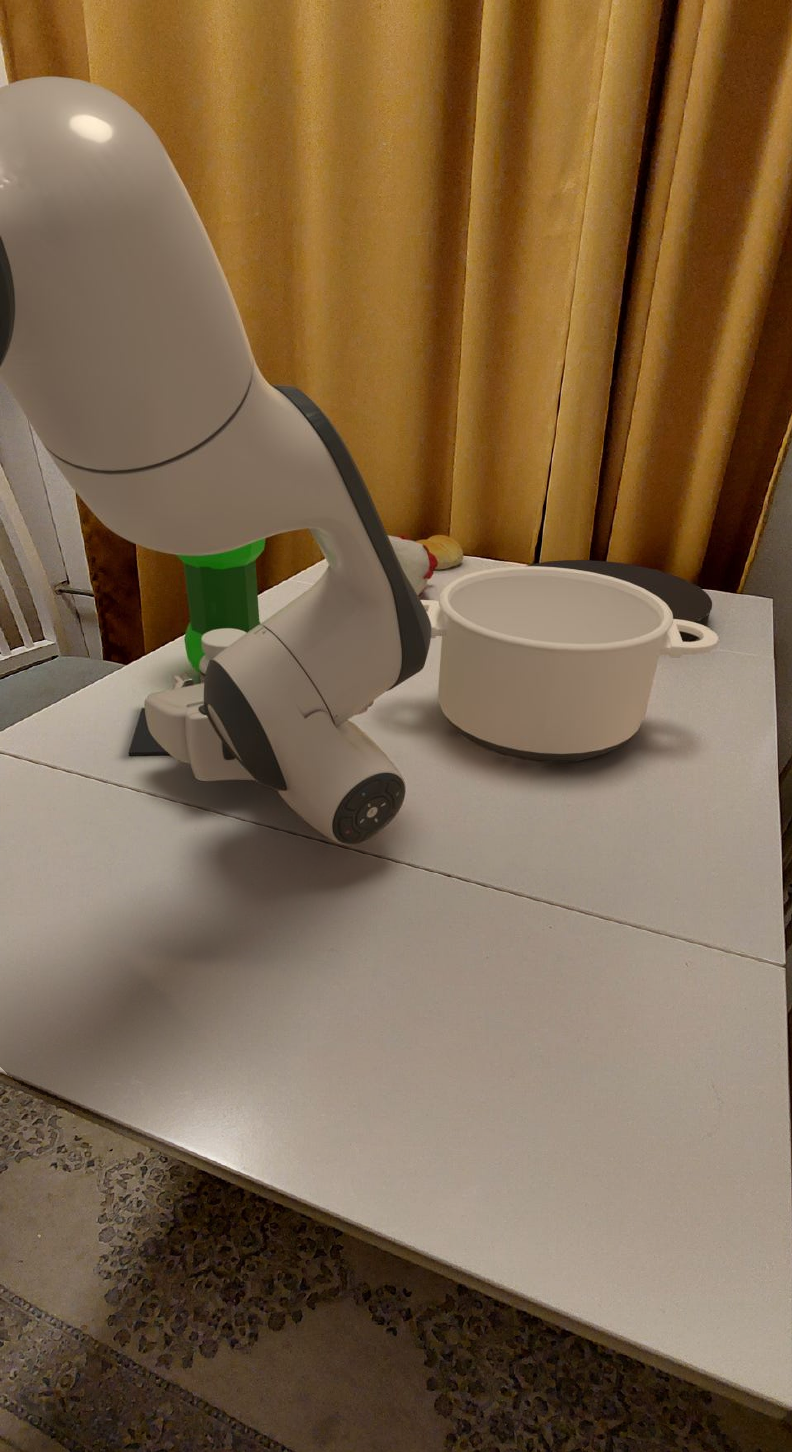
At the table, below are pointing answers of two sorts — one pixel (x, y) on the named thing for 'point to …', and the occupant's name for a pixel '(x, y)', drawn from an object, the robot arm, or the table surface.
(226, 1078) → the table surface
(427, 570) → the white lumpy rounded piece
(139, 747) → the slate mat
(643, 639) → the pot
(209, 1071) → the table surface
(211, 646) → the pill bottle
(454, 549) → the bread roll
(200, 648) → the plastic bottle
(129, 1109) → the table surface
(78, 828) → the table surface
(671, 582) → the disc
